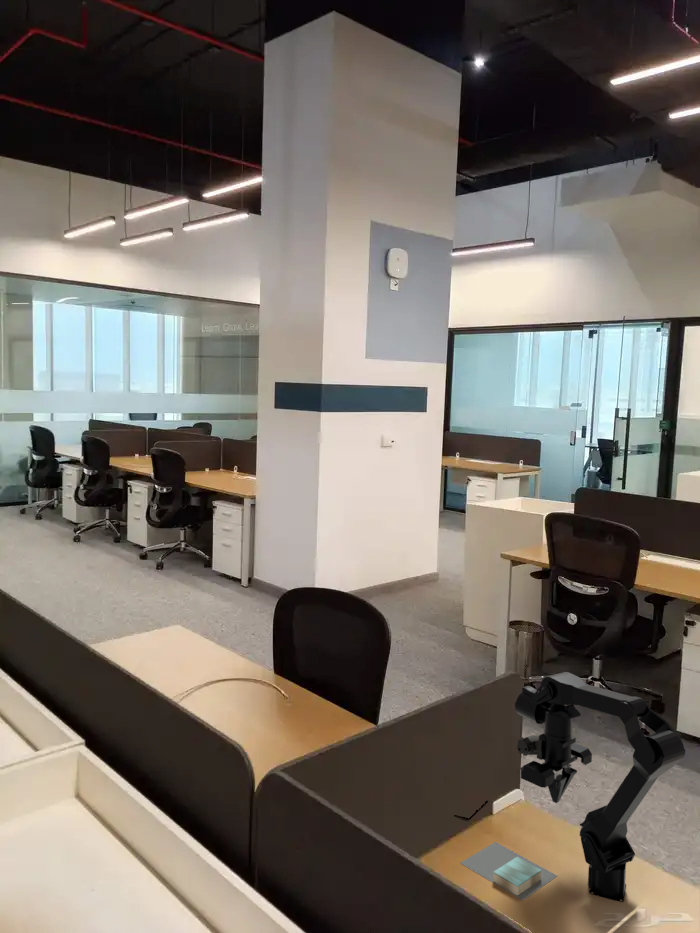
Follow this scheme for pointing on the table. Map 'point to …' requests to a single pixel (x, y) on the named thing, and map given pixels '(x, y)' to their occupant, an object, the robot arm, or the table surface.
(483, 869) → the mat
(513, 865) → the tile
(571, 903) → the table surface
